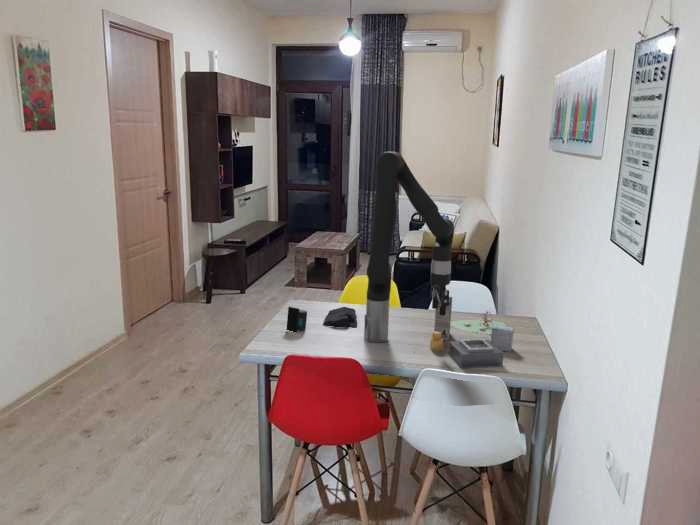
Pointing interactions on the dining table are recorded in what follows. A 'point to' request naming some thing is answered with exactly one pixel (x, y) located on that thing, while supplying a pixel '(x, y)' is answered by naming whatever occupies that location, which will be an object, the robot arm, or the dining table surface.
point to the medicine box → (502, 337)
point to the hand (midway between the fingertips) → (438, 311)
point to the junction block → (475, 353)
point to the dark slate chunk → (341, 317)
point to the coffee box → (443, 321)
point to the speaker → (296, 319)
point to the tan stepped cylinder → (436, 341)
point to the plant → (477, 324)
